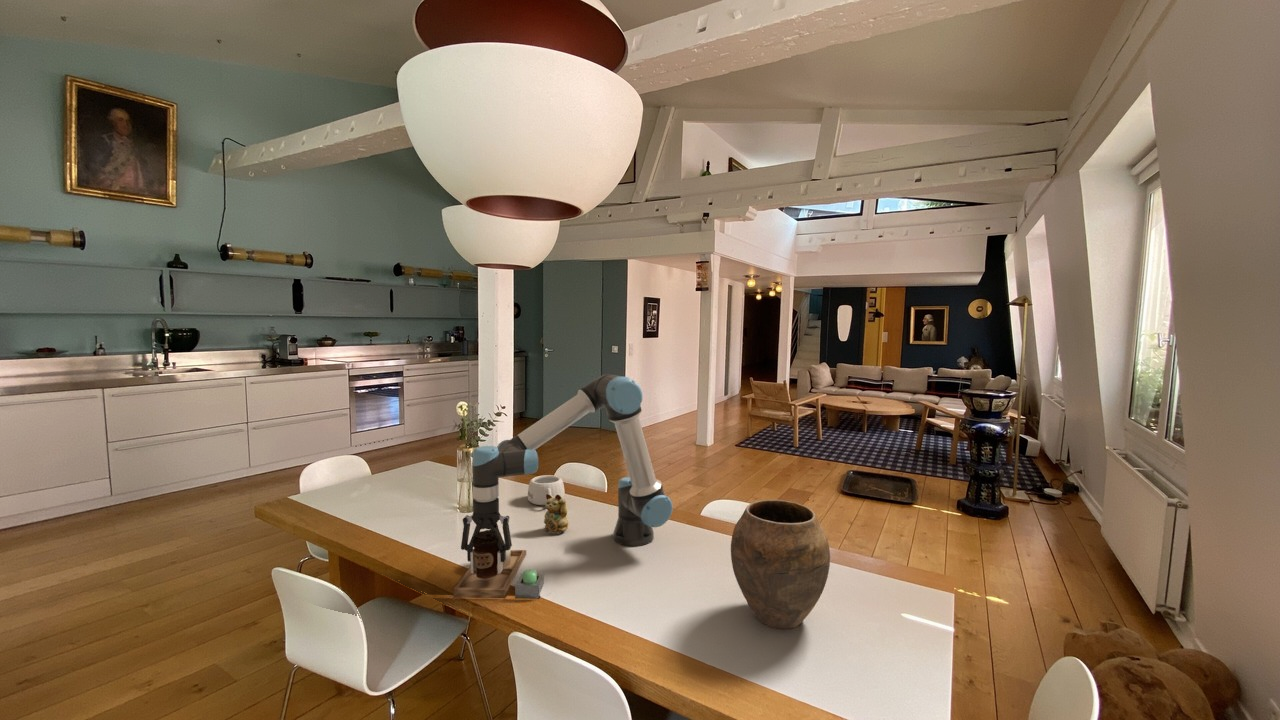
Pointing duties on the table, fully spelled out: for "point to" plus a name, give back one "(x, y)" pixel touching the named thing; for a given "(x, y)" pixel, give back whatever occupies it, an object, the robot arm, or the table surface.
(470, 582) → the wooden tray
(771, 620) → the vase
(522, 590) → the button housing
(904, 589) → the table surface
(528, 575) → the button
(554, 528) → the decorative figurine
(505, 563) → the seated billet
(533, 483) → the mug
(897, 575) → the table surface
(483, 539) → the coffee cup
